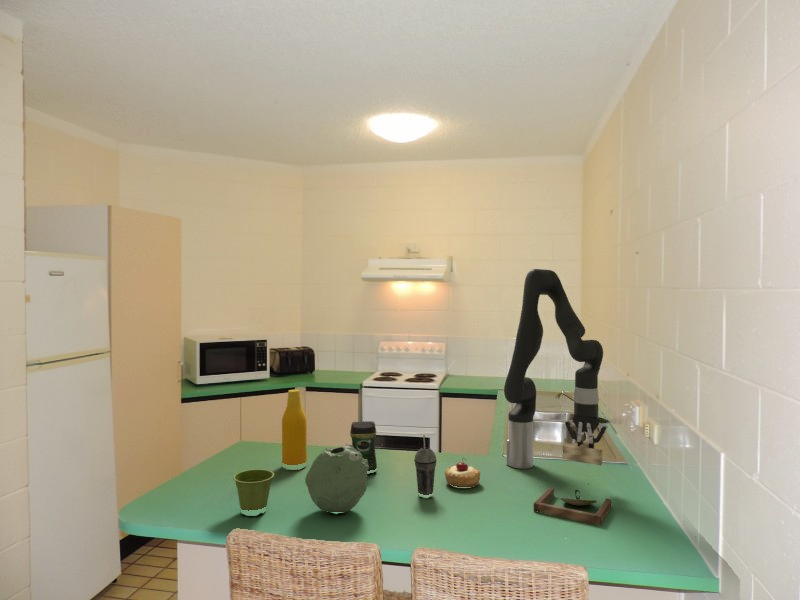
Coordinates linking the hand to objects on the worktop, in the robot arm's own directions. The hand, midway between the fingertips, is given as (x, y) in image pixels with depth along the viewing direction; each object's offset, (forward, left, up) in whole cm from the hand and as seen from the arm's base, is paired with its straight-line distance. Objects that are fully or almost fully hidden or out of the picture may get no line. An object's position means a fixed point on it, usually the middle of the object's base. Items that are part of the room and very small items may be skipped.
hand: (585, 453), depth 178 cm
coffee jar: (-74, -22, -13) cm, 78 cm away
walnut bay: (0, -16, -13) cm, 20 cm away
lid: (+1, -14, -13) cm, 19 cm away
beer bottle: (-100, -31, -13) cm, 105 cm away
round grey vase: (-59, -56, -13) cm, 82 cm away
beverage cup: (-43, -31, -13) cm, 54 cm away
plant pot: (-80, -69, -13) cm, 107 cm away
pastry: (-38, -15, -13) cm, 43 cm away
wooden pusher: (0, +1, -1) cm, 2 cm away
